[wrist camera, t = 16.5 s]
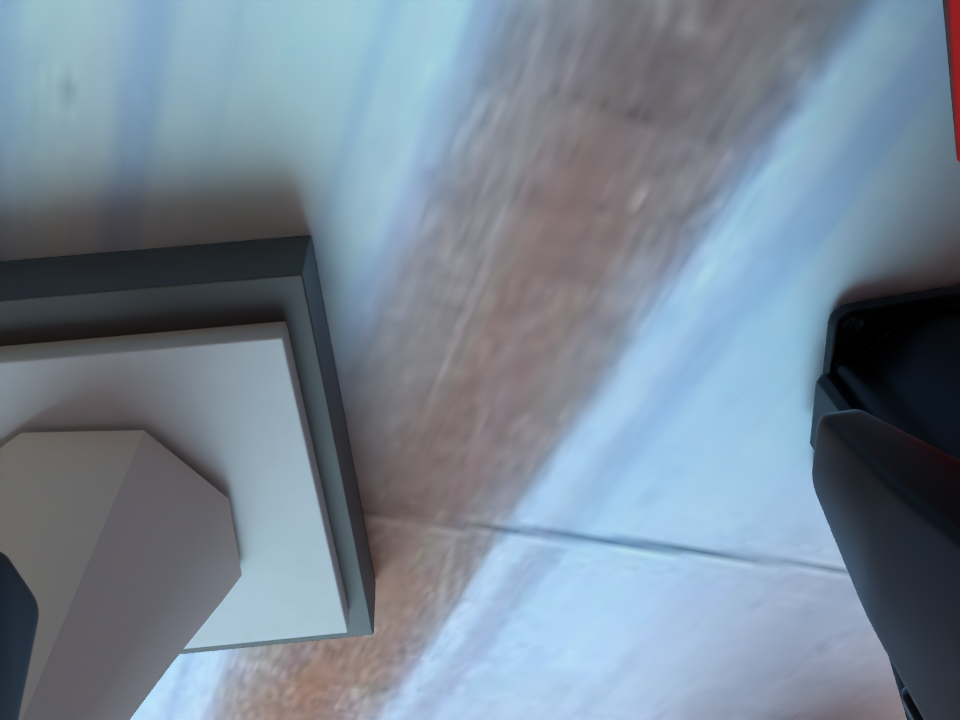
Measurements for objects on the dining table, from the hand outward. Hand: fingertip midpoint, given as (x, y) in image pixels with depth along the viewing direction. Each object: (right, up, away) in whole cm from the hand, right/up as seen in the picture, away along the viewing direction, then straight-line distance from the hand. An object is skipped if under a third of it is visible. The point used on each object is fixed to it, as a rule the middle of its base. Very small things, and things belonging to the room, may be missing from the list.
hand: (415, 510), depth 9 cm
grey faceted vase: (-9, -3, +13) cm, 16 cm away
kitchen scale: (-10, -1, +15) cm, 18 cm away
